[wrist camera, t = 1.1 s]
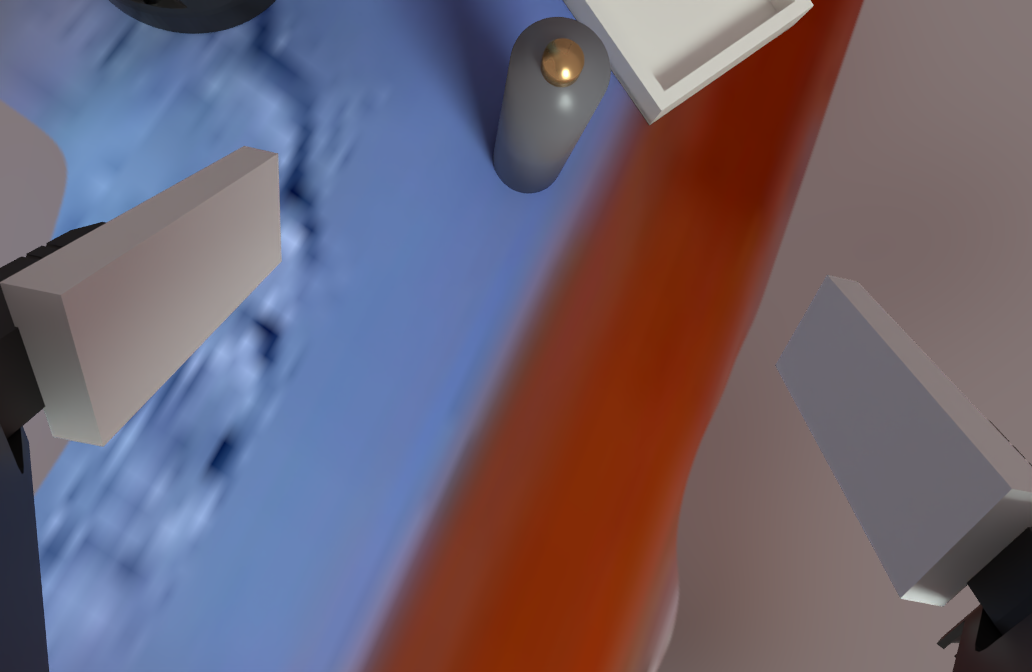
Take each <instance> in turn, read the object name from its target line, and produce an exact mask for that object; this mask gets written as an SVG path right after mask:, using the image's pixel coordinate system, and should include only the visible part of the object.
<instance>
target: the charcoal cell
mask: <svg viewBox="0 0 1032 672" xmlns="http://www.w3.org/2000/svg"><path fill="white" fill-rule="evenodd" d="M610 73H611V67H610V59H609V56H608V52H607V50H606V48H605V46H604V44H603V42H602V41H601V39H600V38H599V37H598V36H597V34H596V33H595V32H594V31H593V30H591V29H590V28H589V27H587V26H586V25H584V24H583V23H581V22H578V21H576V20H573V19H570V18H564V17H551V18H546V19H542V20H540V21H537V22H535V23H533V24H532V25H530V26H529V27H527V28H526V29H525V30H524V31H523V32H522V33H521V34H520V36H519V37H518V38H517V40H516V42H515V44H514V46H513V49H512V52H511V57H510V62H509V68H508V74H507V79H506V85H505V91H504V96H503V102H502V108H501V113H500V119H499V124H498V130H497V136H496V141H495V147H494V153H493V162H494V167H495V170H496V172H497V175H498V176H499V178H500V179H501V180H502V182H503V183H504V184H506V185H507V186H508V187H509V188H511V189H513V190H515V191H518V192H522V193H536V192H540V191H542V190H544V189H546V188H548V187H549V186H550V185H551V184H552V183H553V182H554V181H555V180H556V178H557V177H558V175H559V173H560V171H561V170H562V168H563V166H564V164H565V163H566V161H567V159H568V157H569V156H570V154H571V152H572V150H573V149H574V147H575V145H576V143H577V142H578V140H579V138H580V136H581V134H582V133H583V131H584V129H585V127H586V126H587V124H588V122H589V120H590V119H591V117H592V115H593V113H594V112H595V110H596V108H597V106H598V104H599V103H600V101H601V99H602V97H603V96H604V94H605V92H606V90H607V87H608V85H609V80H610Z"/></svg>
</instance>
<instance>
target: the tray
mask: <svg viewBox="0 0 1032 672" xmlns="http://www.w3.org/2000/svg"><path fill="white" fill-rule="evenodd" d="M563 1H564V2H565V4H566V5H567V7H568V8H569V10H570V11H571V13H572V14H573V15H574V17H575V18H576V20H577V21H578V22H581V23H583V24H584V25H586V26H587V27H589V28H590V29H591V30H593V31H594V32H595V33H596V34H597V36H598V37H599V38H600V39H601V41H602V42H603V44H604V46H605V48H606V50H607V52H608V56H609V59H610V67H611V70H612V72H613V73H614V75H615V76H616V78H617V79H618V81H619V82H620V83H621V85H622V86H623V88H624V89H625V91H626V92H627V94H628V95H629V96H630V98H631V99H632V101H633V102H634V104H635V105H636V107H637V108H638V109H639V111H640V112H641V114H642V115H643V117H644V118H645V120H646V121H647V122H648V124H649V125H651V124H652V123H653V122H655V121H656V120H658V119H659V118H661V117H662V116H663V115H665V114H666V113H668V112H669V111H671V110H672V109H674V108H675V107H676V106H678V105H679V104H681V103H682V102H684V101H685V100H687V99H688V98H689V97H691V96H692V95H694V94H695V93H697V92H698V91H699V90H701V89H702V88H704V87H705V86H707V85H708V84H710V83H711V82H712V81H714V80H715V79H717V78H718V77H720V76H721V75H723V74H724V73H725V72H727V71H728V70H730V69H731V68H733V67H734V66H736V65H737V64H738V63H740V62H741V61H743V60H744V59H746V58H747V57H748V56H750V55H751V54H753V53H754V52H756V51H757V50H759V49H760V48H761V47H763V46H764V45H766V44H767V43H769V42H770V41H772V40H773V39H774V38H776V37H777V36H779V35H780V34H782V33H783V32H784V31H786V30H787V29H789V28H790V27H792V26H793V25H794V24H795V23H796V22H797V21H798V20H799V19H800V18H801V17H802V16H803V15H804V14H805V13H807V12H808V11H809V10H810V9H811V8H812V7H813V6H814V5H813V4H812V2H811V1H810V0H563Z"/></svg>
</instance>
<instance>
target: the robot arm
mask: <svg viewBox="0 0 1032 672" xmlns="http://www.w3.org/2000/svg"><path fill="white" fill-rule="evenodd" d="M109 1H110V2H111V3H112V4H114V5H115V6H116V7H117V8H119V9H120V10H122V11H123V12H124V13H126V14H128V15H129V16H131V17H133V18H135V19H137V20H139V21H141V22H143V23H145V24H147V25H150V26H153V27H156V28H159V29H163V30H167V31H172V32H179V33H210V32H217V31H221V30H226V29H229V28H232V27H235V26H238V25H240V24H243V23H245V22H247V21H249V20H251V19H252V18H254V17H256V16H257V15H259V14H260V13H262V12H263V11H264V10H266V9H267V8H268V7H269V6H271V5H272V4H273V3H274V2H275V1H276V0H109ZM280 262H281V233H280V201H279V169H278V153H273V152H269V151H264V150H260V149H255V148H251V147H246V146H243V147H242V148H240V149H238V150H236V151H234V152H233V153H231V154H229V155H227V156H225V157H224V158H222V159H220V160H218V161H216V162H215V163H213V164H211V165H209V166H208V167H206V168H204V169H202V170H200V171H199V172H197V173H195V174H193V175H191V176H190V177H188V178H186V179H184V180H182V181H181V182H179V183H177V184H175V185H173V186H172V187H170V188H168V189H166V190H164V191H163V192H161V193H159V194H157V195H156V196H154V197H152V198H150V199H148V200H147V201H145V202H143V203H141V204H139V205H138V206H136V207H134V208H132V209H130V210H129V211H127V212H125V213H123V214H121V215H120V216H118V217H116V218H114V219H112V220H111V221H109V222H107V223H105V222H100V223H97V224H93V225H89V226H85V227H82V228H78V229H74V230H70V231H69V232H67V233H65V234H63V235H61V236H59V237H57V238H55V239H54V240H52V241H50V242H48V243H47V245H46V247H45V246H41V247H38V248H37V249H35V250H33V251H31V252H29V253H27V256H26V257H20V258H18V259H16V260H14V261H12V262H11V263H9V264H7V265H5V266H3V267H1V268H0V672H49V664H48V653H47V642H46V630H45V619H44V608H43V597H42V585H41V574H40V563H39V551H38V540H37V529H36V517H35V506H34V495H33V484H32V472H31V461H30V450H29V441H28V439H27V436H26V434H25V431H24V428H23V425H24V424H25V423H26V422H28V421H29V420H30V419H31V418H32V417H34V416H35V415H36V414H37V413H38V412H39V411H40V410H42V409H44V412H45V415H46V418H47V421H48V424H49V427H50V429H51V432H52V435H53V437H56V438H61V439H67V440H71V441H77V442H82V443H87V444H92V445H98V446H103V447H104V446H105V445H106V443H107V442H108V441H109V440H110V439H111V438H112V437H113V436H114V435H115V434H116V433H117V432H118V431H119V430H120V429H121V428H122V427H123V426H124V425H125V424H126V423H127V422H128V421H129V420H130V418H131V417H132V416H133V415H134V414H135V413H136V412H137V411H138V410H139V409H140V408H141V407H142V406H143V405H144V404H145V403H146V402H147V401H148V400H149V399H150V398H151V397H152V396H153V395H154V393H155V392H156V391H157V390H158V389H159V388H160V387H161V386H162V385H163V384H164V383H165V382H166V381H167V380H168V379H169V378H170V377H171V376H172V375H173V374H174V373H175V372H176V371H177V370H178V368H179V367H180V366H181V365H182V364H183V363H184V362H185V361H186V360H187V359H188V358H189V357H190V356H191V355H192V354H193V353H194V352H195V351H196V350H197V349H198V348H199V347H200V346H201V345H202V343H203V342H204V341H205V340H206V339H207V338H208V337H209V336H210V335H211V334H212V333H213V332H214V331H215V330H216V329H217V328H218V327H219V326H220V325H221V324H222V323H223V322H224V321H225V319H226V318H227V317H228V316H229V315H230V314H231V313H232V312H233V311H234V310H235V309H236V308H237V307H238V306H239V305H240V304H241V303H242V302H243V301H244V300H245V299H246V298H247V297H248V296H249V294H250V293H251V292H252V291H253V290H254V289H255V288H256V287H257V286H258V285H259V284H260V283H261V282H262V281H263V280H264V279H265V278H266V277H267V276H268V275H269V274H270V273H271V272H272V271H273V269H274V268H275V267H276V266H277V265H278V264H279V263H280ZM775 366H776V368H777V370H778V371H779V373H780V375H781V377H782V379H783V380H784V383H785V384H786V386H787V388H788V390H789V392H790V394H791V396H792V397H793V399H794V401H795V403H796V405H797V407H798V409H799V411H800V412H801V414H802V416H803V418H804V420H805V421H806V424H807V425H808V427H809V429H810V431H811V433H812V435H813V436H814V438H815V440H816V442H817V444H818V446H819V448H820V450H821V452H822V453H823V455H824V457H825V459H826V461H827V463H828V464H829V466H830V468H831V470H832V472H833V474H834V476H835V478H836V479H837V481H838V483H839V485H840V487H841V489H842V491H843V492H844V494H845V496H846V498H847V500H848V502H849V504H850V505H851V507H852V509H853V511H854V513H855V515H856V517H857V519H858V520H859V522H860V524H861V526H862V528H863V530H864V532H865V534H866V535H867V537H868V539H869V541H870V543H871V545H872V547H873V548H874V550H875V552H876V554H877V556H878V558H879V560H880V561H881V563H882V565H883V567H884V569H885V571H886V573H887V574H888V576H889V578H890V580H891V582H892V584H893V586H894V587H895V589H896V591H897V593H898V595H899V597H900V598H901V599H906V600H911V601H916V602H921V603H927V604H932V605H937V606H944V605H946V603H948V602H949V601H950V600H951V599H952V598H953V597H955V596H956V595H957V594H958V593H959V592H960V591H961V590H962V589H963V588H965V587H966V586H967V585H968V586H969V587H970V589H971V590H972V592H973V593H974V595H975V596H976V598H977V599H978V601H979V602H980V605H979V606H978V607H977V608H976V609H974V610H973V611H972V612H971V613H970V614H968V615H967V616H966V617H965V618H964V619H963V620H961V621H960V622H959V623H958V624H957V625H956V626H954V627H953V628H952V629H951V630H950V631H949V632H947V633H946V634H945V635H944V636H943V637H942V638H941V639H940V640H939V642H938V643H937V644H938V645H939V646H940V647H942V648H943V649H944V648H946V647H947V646H948V645H949V644H950V643H959V648H958V652H957V654H956V655H955V657H956V660H955V664H954V668H953V672H1032V465H1031V464H1030V463H1029V462H1027V461H1026V460H1025V458H1024V456H1023V455H1022V454H1021V453H1020V452H1019V451H1018V450H1017V449H1016V448H1015V447H1014V446H1013V445H1011V444H1010V443H1009V440H1007V438H1006V437H1004V435H1003V434H1002V433H1001V432H1000V431H999V430H998V429H997V428H996V427H995V426H994V425H993V424H992V423H991V421H989V420H988V419H987V418H986V417H985V416H984V415H983V414H982V413H981V412H980V411H979V410H978V409H977V408H976V407H975V406H974V405H973V403H972V402H971V401H970V400H969V399H968V398H967V397H966V396H965V395H964V394H963V393H962V392H961V391H960V390H959V389H958V388H957V387H956V386H955V384H954V383H953V382H952V381H951V380H950V379H949V378H948V377H947V376H946V375H945V374H944V373H943V372H942V371H941V369H940V368H938V366H937V365H936V364H935V363H934V362H933V361H932V360H931V359H930V358H929V357H928V356H927V355H926V354H925V353H924V351H923V350H922V349H921V348H920V347H919V346H918V345H917V344H916V343H915V342H914V341H913V340H912V339H911V338H910V337H909V336H908V335H907V334H906V332H905V331H903V329H902V328H901V327H900V326H899V325H898V324H897V323H896V322H895V321H894V320H893V319H892V318H891V317H890V315H889V314H888V313H887V312H886V311H885V310H884V309H883V308H882V307H881V306H880V305H879V304H878V303H877V302H876V301H875V300H874V298H873V297H871V295H870V294H869V293H868V292H867V291H866V290H865V289H864V288H863V287H862V286H861V285H860V284H859V283H858V281H853V280H849V279H844V278H840V277H835V276H830V275H827V276H826V278H825V279H824V281H823V283H822V285H821V286H820V288H819V290H818V292H817V294H816V295H815V297H814V299H813V300H812V302H811V304H810V306H809V307H808V309H807V311H806V313H805V314H804V316H803V318H802V320H801V321H800V323H799V325H798V327H797V328H796V330H795V332H794V334H793V336H792V337H791V339H790V341H789V342H788V344H787V346H786V348H785V349H784V351H783V353H782V355H781V357H780V358H779V360H778V362H777V363H776V365H775Z"/></svg>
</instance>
